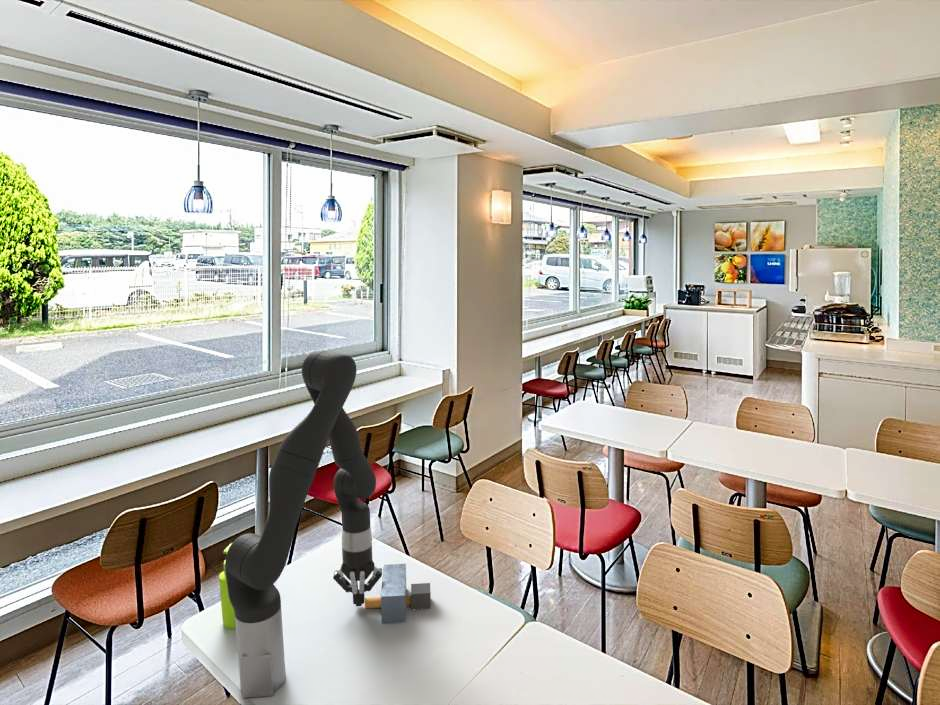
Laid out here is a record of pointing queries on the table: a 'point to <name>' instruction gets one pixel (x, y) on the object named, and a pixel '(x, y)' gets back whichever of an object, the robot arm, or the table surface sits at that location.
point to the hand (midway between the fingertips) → (359, 604)
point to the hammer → (409, 598)
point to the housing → (393, 594)
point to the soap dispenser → (226, 599)
